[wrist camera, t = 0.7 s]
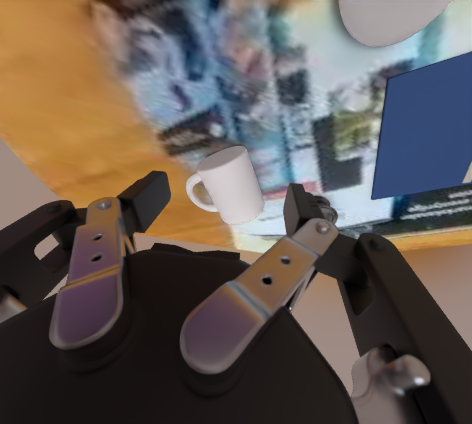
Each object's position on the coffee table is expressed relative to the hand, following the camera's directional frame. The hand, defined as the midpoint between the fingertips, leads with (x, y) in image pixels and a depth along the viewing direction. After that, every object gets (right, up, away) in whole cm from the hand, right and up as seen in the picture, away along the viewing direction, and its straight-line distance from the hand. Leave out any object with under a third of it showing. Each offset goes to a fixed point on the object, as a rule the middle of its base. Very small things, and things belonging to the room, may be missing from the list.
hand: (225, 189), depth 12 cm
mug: (-1, +5, +21) cm, 22 cm away
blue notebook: (+29, +9, +13) cm, 33 cm away
